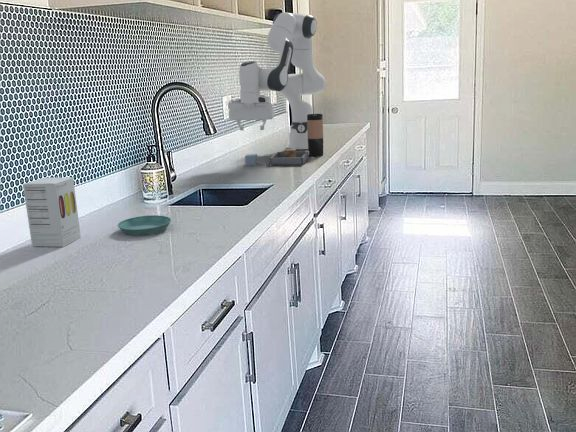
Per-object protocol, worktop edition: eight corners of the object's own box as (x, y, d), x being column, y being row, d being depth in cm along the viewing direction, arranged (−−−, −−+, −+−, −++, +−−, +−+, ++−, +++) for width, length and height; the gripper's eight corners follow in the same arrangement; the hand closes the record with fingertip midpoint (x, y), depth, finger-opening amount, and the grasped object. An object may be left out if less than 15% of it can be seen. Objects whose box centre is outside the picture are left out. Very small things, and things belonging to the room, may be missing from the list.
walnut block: (285, 160, 272) (285, 150, 271) (287, 158, 277) (286, 149, 276) (295, 159, 272) (294, 150, 271) (296, 158, 276) (296, 148, 275)
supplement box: (63, 247, 152) (54, 183, 147) (31, 247, 153) (21, 183, 149) (82, 236, 161) (73, 176, 156) (51, 236, 162) (42, 176, 158)
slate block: (248, 164, 272) (247, 154, 271) (257, 163, 271) (256, 154, 270) (245, 165, 267) (245, 155, 266) (255, 165, 267) (254, 155, 265)
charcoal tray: (277, 159, 281) (277, 151, 280) (308, 158, 279) (308, 151, 278) (270, 165, 263) (269, 158, 262) (303, 165, 261) (302, 157, 260)
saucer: (112, 230, 167) (110, 221, 167) (161, 221, 175) (160, 212, 174) (127, 241, 155) (126, 232, 155) (179, 231, 163) (179, 222, 162)
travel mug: (324, 154, 291) (323, 113, 286) (323, 156, 283) (322, 114, 279) (308, 154, 292) (307, 114, 287) (307, 157, 284) (306, 115, 279)
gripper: (225, 100, 260) (227, 131, 263) (271, 98, 257) (272, 130, 260) (229, 99, 266) (231, 130, 270) (273, 97, 263) (275, 128, 266)
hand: (252, 130), depth 265 cm, fingers open, 8 cm apart
